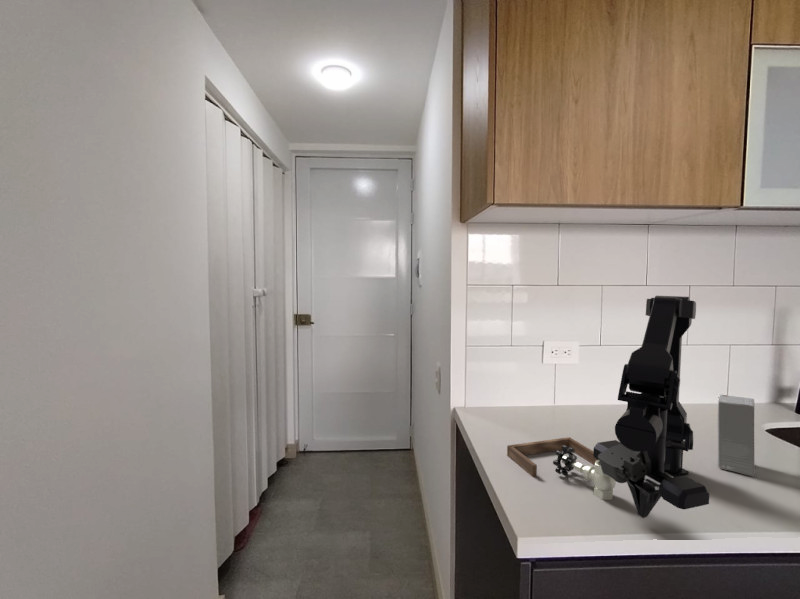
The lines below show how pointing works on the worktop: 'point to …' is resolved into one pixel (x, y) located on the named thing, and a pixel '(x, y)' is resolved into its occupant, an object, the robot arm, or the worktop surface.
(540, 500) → the worktop surface
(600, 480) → the valve
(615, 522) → the worktop surface
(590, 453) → the carrier bracket
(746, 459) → the skincare box
